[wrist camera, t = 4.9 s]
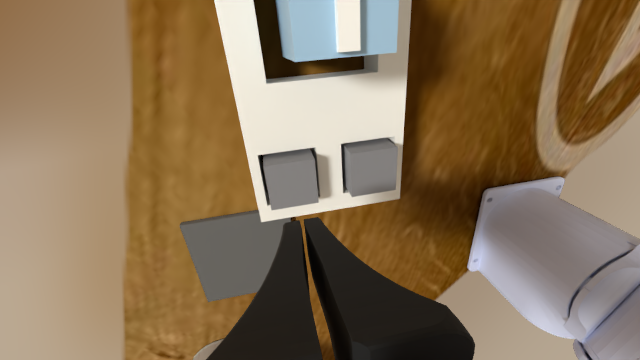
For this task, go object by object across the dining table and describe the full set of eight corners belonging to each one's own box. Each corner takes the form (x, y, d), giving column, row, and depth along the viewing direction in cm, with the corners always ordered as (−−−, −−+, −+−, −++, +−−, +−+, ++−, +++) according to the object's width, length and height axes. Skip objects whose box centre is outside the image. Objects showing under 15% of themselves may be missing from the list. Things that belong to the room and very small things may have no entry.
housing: (386, 183, 22) (399, 198, 20) (261, 203, 21) (261, 222, 19) (394, -75, 15) (417, -97, 13) (205, -69, 14) (194, -92, 12)
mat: (299, 279, 25) (300, 283, 25) (209, 298, 24) (208, 301, 24) (288, 205, 21) (288, 207, 21) (180, 222, 20) (179, 225, 20)
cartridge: (345, 50, 17) (401, 52, 10) (282, 56, 17) (296, 62, 10) (342, -27, 16) (408, -89, 9) (272, -24, 15) (280, -85, 8)
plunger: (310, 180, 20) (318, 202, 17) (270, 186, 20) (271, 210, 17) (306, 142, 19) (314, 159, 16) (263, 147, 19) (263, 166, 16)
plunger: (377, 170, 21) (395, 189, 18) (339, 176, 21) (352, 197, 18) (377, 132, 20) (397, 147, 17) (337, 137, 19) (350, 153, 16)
